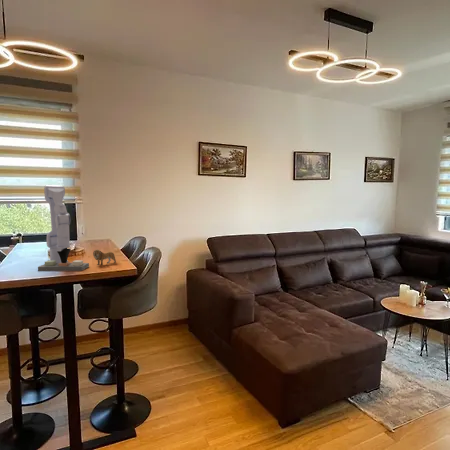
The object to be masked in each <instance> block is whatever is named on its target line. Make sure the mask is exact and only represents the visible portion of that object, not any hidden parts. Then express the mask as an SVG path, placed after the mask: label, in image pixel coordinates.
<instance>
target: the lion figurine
mask: <svg viewBox="0 0 450 450" xmlns="http://www.w3.org/2000/svg"><path fill="white" fill-rule="evenodd" d="M92 256H93V259H95V260H96V261H97V264H96V265H97V266H99V265H100V266H103V263H104V260H106V259H108V261H107V262H106V263H107V264H109V263H110V262H111V261H112V260H113V264H116V263H117V260H116V256H115V254H114V252H112V251H107V252H103V251H101V250H100V249H94V250H93V253H92Z"/></svg>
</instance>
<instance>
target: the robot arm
mask: <svg viewBox="0 0 450 450" xmlns="http://www.w3.org/2000/svg"><path fill="white" fill-rule="evenodd" d="M43 189H44V190H43V191H44V199H45V202H48V204H49V213H50V215H49V216H50V224H51V225H50V226H51V230H50V231H49V232H48V233H47V234H46V247H48V249H49V257H50V258H49V260H56V263H61V262H62V263H67V262H69V259H68V258H69V255H70V252H71V243H70V225H71V215H70V213H69V212H68V209H67V206H66V205H65V204H64V203H63V200H64V198H65V195H66V188H65V186H64V185H47V184H46V185H45V186H44V188H43Z"/></svg>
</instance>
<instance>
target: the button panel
mask: <svg viewBox="0 0 450 450" xmlns="http://www.w3.org/2000/svg"><path fill="white" fill-rule="evenodd" d="M89 267H90V264H89V262H83V265H81V266H72V262H70V265H68V266H59V263H56V265H54V266H45V263H43V264H42V265H39V266H38V267H37V271H40V272H42V271H45V272H46V271H49V272H50V271H55V272H58V271H60V272H61V271H62V272H63V271H64V272H65V271H66V272H67V271H69V272H70V271H74V272H75V271H84V270H86V269H87V268H89Z"/></svg>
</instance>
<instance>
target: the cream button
mask: <svg viewBox="0 0 450 450" xmlns="http://www.w3.org/2000/svg"><path fill="white" fill-rule="evenodd" d="M71 263H72V266H81V265H83V263H84V259H83V260H79V259H78V260H77V259H75V260H73V261H72V262H71Z"/></svg>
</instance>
